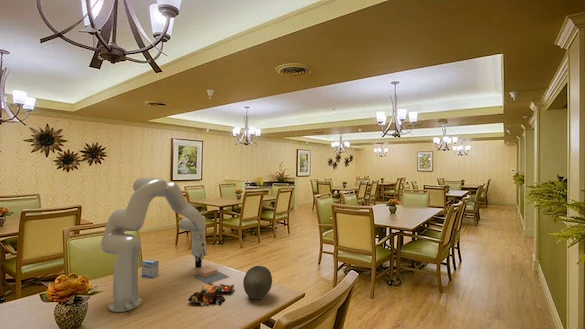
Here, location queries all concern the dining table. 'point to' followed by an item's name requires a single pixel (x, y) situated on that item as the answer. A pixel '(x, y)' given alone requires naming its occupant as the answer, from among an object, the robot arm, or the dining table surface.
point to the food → (210, 294)
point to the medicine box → (150, 268)
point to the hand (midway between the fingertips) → (198, 267)
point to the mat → (211, 277)
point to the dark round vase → (257, 282)
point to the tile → (206, 271)
